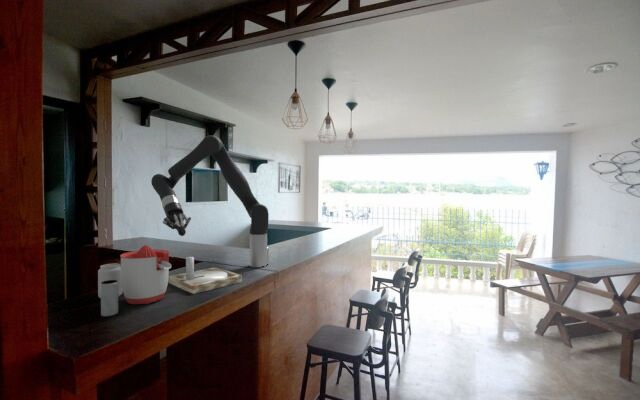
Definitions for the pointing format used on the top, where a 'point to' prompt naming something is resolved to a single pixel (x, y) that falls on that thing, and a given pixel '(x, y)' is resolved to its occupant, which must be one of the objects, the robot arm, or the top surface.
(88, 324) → the top surface
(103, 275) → the can
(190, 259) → the dial
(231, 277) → the dial housing
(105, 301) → the grey tall cylinder
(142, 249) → the citrus juicer
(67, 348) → the top surface
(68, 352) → the top surface
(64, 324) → the top surface
